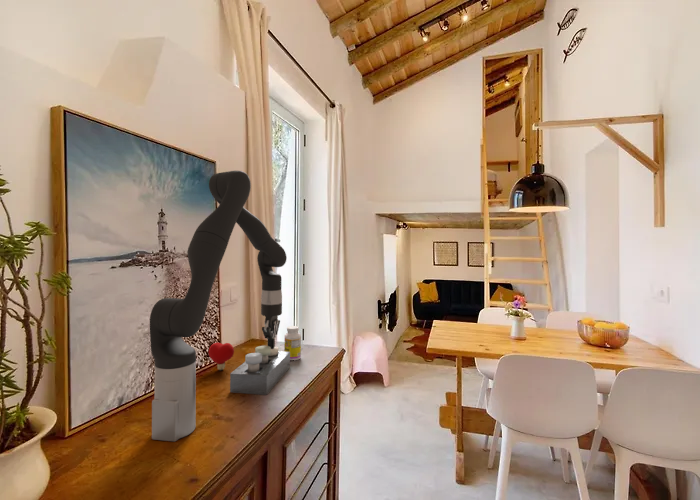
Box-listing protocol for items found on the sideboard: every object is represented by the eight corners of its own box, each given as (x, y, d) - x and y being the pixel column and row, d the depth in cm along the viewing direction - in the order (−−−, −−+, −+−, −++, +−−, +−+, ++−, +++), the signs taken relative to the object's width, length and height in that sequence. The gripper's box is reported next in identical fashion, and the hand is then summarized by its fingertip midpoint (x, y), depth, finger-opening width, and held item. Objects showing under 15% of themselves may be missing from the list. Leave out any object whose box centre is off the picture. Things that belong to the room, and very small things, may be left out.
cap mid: (267, 365, 117) (267, 350, 117) (252, 364, 118) (252, 349, 118) (272, 360, 122) (272, 346, 122) (258, 359, 123) (258, 345, 123)
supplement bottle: (282, 356, 143) (282, 326, 143) (298, 354, 146) (298, 324, 146) (286, 362, 137) (287, 330, 137) (302, 360, 140) (303, 328, 140)
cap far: (275, 364, 125) (275, 350, 125) (261, 363, 126) (261, 350, 126) (280, 359, 130) (280, 346, 130) (266, 359, 131) (267, 345, 131)
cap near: (258, 374, 109) (258, 358, 109) (242, 373, 110) (242, 357, 110) (264, 368, 115) (264, 353, 114) (249, 367, 115) (249, 352, 115)
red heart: (237, 367, 131) (237, 341, 130) (229, 374, 124) (229, 346, 123) (213, 366, 132) (213, 340, 131) (204, 373, 125) (204, 345, 124)
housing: (266, 395, 108) (266, 375, 108) (230, 392, 109) (230, 373, 109) (289, 367, 131) (290, 351, 131) (259, 365, 133) (259, 350, 133)
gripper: (275, 305, 121) (274, 354, 121) (287, 299, 134) (286, 343, 134) (254, 304, 122) (254, 353, 122) (268, 298, 135) (267, 342, 135)
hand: (271, 348), depth 128 cm, fingers closed
